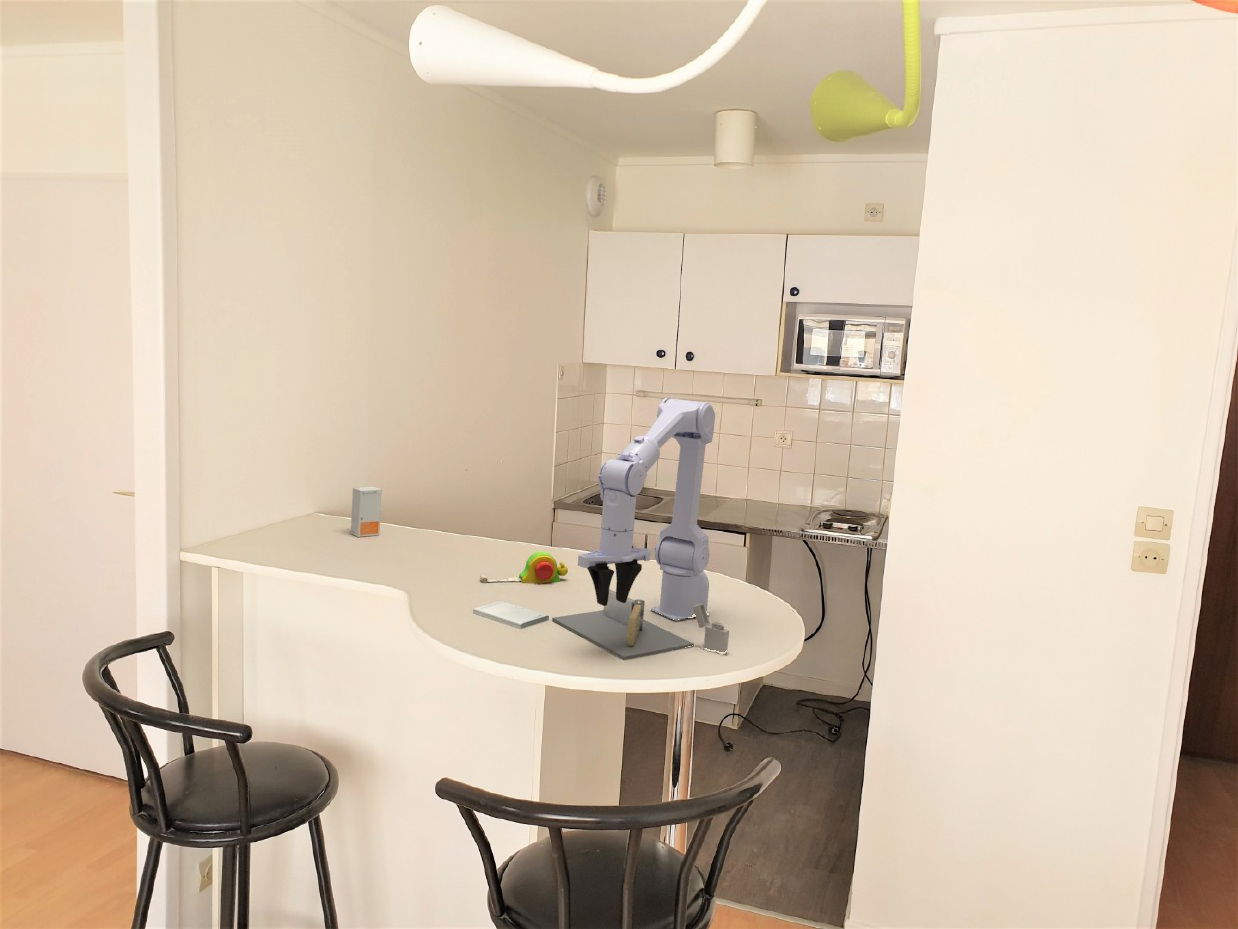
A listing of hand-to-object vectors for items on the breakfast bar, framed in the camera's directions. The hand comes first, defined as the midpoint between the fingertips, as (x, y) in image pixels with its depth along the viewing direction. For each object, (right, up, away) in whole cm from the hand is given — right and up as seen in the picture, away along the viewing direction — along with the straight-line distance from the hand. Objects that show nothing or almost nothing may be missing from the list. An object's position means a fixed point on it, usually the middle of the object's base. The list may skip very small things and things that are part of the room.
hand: (611, 602), depth 166 cm
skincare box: (-63, +7, +70) cm, 94 cm away
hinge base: (+2, -7, +10) cm, 12 cm away
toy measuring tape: (-20, -2, +40) cm, 44 cm away
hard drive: (-20, -6, +15) cm, 25 cm away
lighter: (+18, -9, +5) cm, 21 cm away
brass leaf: (+4, -7, +6) cm, 10 cm away
